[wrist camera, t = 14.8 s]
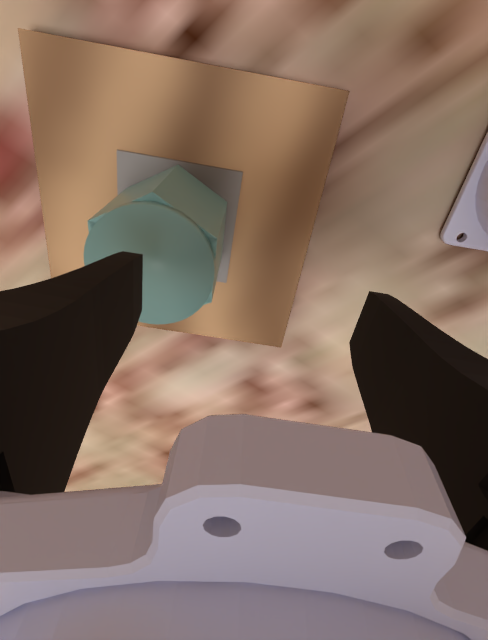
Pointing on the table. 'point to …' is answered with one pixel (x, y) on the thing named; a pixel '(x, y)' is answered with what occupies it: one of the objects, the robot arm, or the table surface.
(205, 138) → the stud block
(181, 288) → the cap
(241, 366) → the table surface
